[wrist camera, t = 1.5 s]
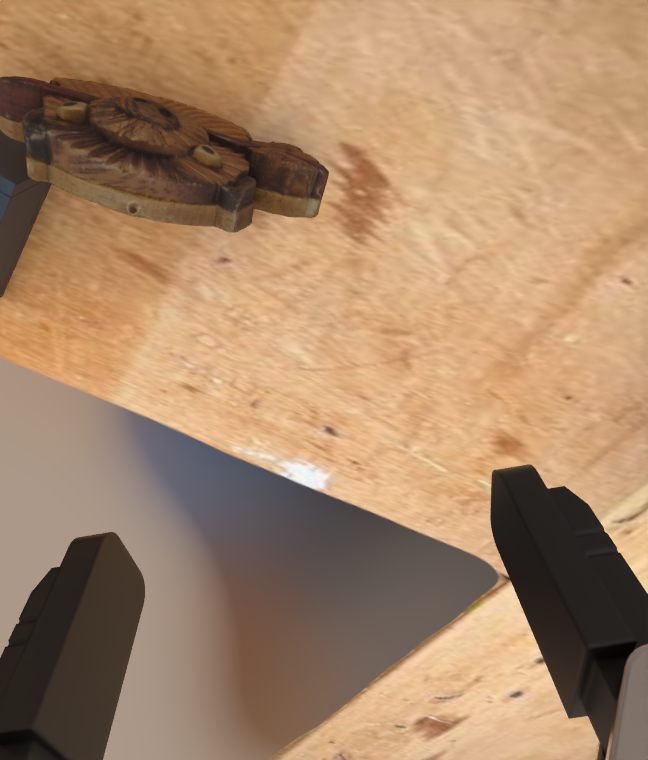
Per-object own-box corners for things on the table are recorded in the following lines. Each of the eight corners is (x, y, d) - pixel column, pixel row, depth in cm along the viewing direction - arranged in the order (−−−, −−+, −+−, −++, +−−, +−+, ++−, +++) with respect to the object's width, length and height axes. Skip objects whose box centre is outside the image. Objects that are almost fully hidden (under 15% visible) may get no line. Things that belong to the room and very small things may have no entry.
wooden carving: (330, 121, 29) (347, 151, 21) (316, 200, 31) (325, 255, 23) (30, 56, 26) (-88, 59, 18) (40, 147, 29) (-60, 188, 21)
